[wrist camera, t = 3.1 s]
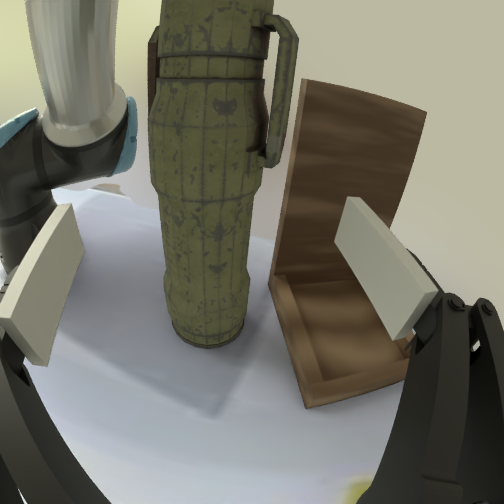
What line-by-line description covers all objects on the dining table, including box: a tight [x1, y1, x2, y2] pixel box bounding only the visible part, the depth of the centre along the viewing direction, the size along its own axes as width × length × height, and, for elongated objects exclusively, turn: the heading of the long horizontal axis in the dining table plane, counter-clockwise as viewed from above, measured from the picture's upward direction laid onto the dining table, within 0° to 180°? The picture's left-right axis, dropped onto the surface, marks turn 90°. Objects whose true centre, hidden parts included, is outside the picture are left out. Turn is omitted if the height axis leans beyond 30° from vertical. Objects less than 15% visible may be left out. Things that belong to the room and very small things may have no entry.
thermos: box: [148, 0, 299, 349], centre depth 22 cm, size 9×12×35 cm
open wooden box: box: [268, 79, 427, 409], centre depth 25 cm, size 18×15×26 cm
